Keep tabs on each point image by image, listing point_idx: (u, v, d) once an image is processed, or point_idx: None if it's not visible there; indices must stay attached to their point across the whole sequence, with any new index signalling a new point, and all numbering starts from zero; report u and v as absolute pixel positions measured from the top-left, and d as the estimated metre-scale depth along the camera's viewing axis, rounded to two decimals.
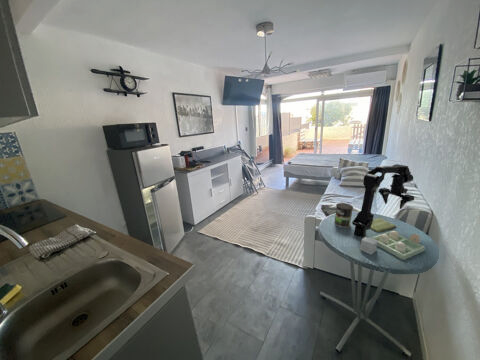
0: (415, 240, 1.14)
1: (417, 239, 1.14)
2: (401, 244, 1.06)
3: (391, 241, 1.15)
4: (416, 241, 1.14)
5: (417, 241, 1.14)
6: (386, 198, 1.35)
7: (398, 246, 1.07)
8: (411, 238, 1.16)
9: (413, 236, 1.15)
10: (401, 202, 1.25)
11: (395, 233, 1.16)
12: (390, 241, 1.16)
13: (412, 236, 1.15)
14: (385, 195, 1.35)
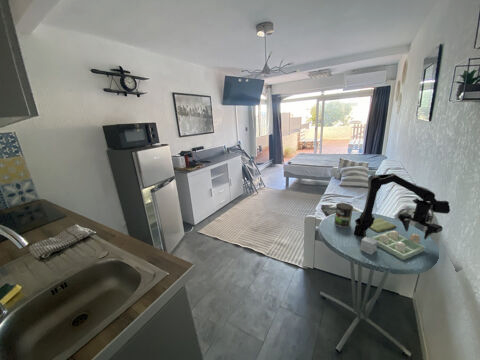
0: (415, 240, 1.14)
1: (417, 239, 1.14)
2: (401, 244, 1.06)
3: (391, 241, 1.15)
4: (416, 241, 1.14)
5: (417, 241, 1.14)
6: (407, 225, 1.18)
7: (398, 246, 1.07)
8: (411, 238, 1.16)
9: (413, 236, 1.15)
10: (427, 232, 1.08)
11: (395, 233, 1.16)
12: (390, 241, 1.16)
13: (412, 236, 1.15)
14: (406, 222, 1.18)
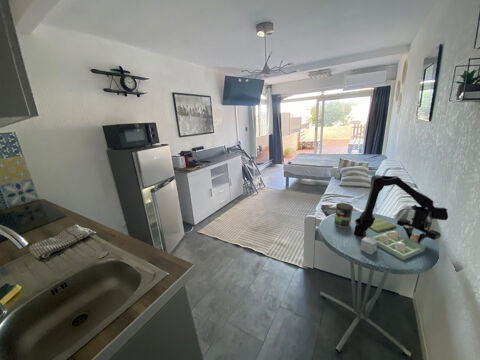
0: (415, 240, 1.14)
1: (417, 239, 1.14)
2: (401, 244, 1.06)
3: (391, 241, 1.15)
4: (416, 241, 1.14)
5: (417, 241, 1.14)
6: (410, 233, 1.18)
7: (398, 246, 1.07)
8: (411, 238, 1.16)
9: (413, 236, 1.15)
10: (420, 237, 1.11)
11: (395, 233, 1.16)
12: (390, 241, 1.16)
13: (412, 236, 1.15)
14: (409, 230, 1.17)
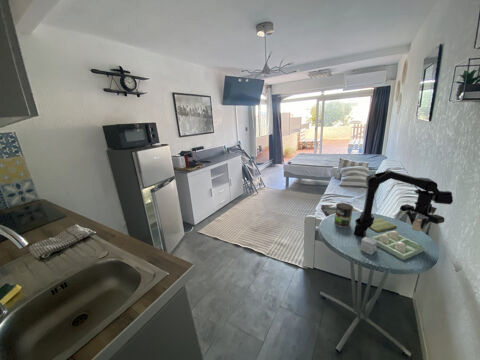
0: (418, 225, 1.11)
1: (420, 224, 1.10)
2: (401, 244, 1.06)
3: (391, 241, 1.15)
4: (419, 226, 1.11)
5: (420, 226, 1.11)
6: (413, 218, 1.14)
7: (398, 246, 1.07)
8: (414, 223, 1.13)
9: (416, 221, 1.12)
10: (423, 222, 1.08)
11: (395, 233, 1.16)
12: (390, 241, 1.16)
13: (415, 221, 1.12)
14: (412, 215, 1.14)
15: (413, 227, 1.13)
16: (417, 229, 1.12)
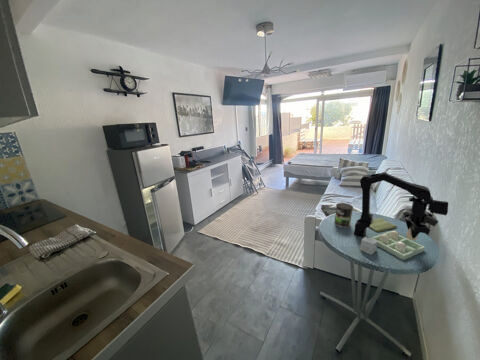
0: (409, 233, 1.08)
1: None
2: (401, 244, 1.06)
3: (391, 241, 1.15)
4: (410, 234, 1.08)
5: (411, 235, 1.08)
6: None
7: (398, 246, 1.07)
8: (407, 231, 1.10)
9: (409, 229, 1.09)
10: (410, 229, 1.06)
11: (395, 233, 1.16)
12: (390, 241, 1.16)
13: (408, 229, 1.10)
14: (409, 223, 1.11)
15: None
16: (408, 237, 1.09)
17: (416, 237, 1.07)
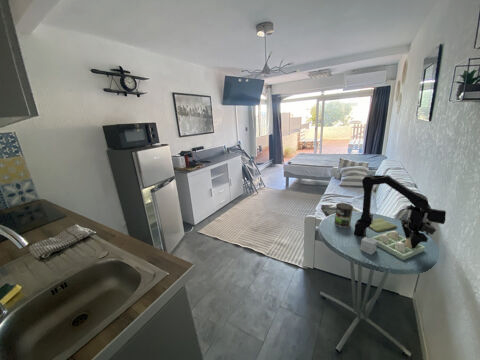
0: (407, 243, 1.10)
1: (409, 243, 1.09)
2: (401, 244, 1.06)
3: (391, 241, 1.15)
4: (407, 245, 1.10)
5: (409, 245, 1.10)
6: (408, 232, 1.14)
7: (398, 246, 1.07)
8: (405, 241, 1.12)
9: (406, 239, 1.11)
10: (410, 239, 1.05)
11: (395, 233, 1.16)
12: (390, 241, 1.16)
13: (406, 239, 1.11)
14: (406, 228, 1.14)
15: None
16: None
17: None
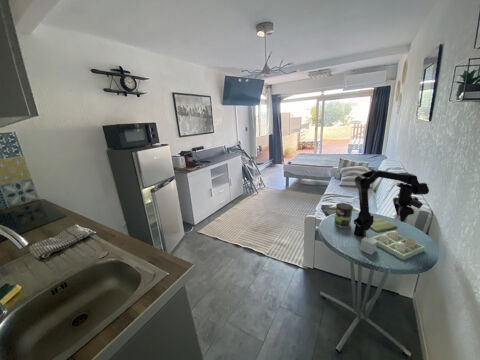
0: (407, 243, 1.10)
1: (409, 243, 1.09)
2: (401, 244, 1.06)
3: (391, 241, 1.15)
4: (407, 245, 1.10)
5: (409, 245, 1.10)
6: (398, 209, 1.24)
7: (398, 246, 1.07)
8: (405, 241, 1.12)
9: (406, 239, 1.11)
10: (399, 213, 1.16)
11: (395, 233, 1.16)
12: (390, 241, 1.16)
13: (406, 239, 1.11)
14: (397, 205, 1.24)
15: None
16: None
17: (414, 247, 1.09)
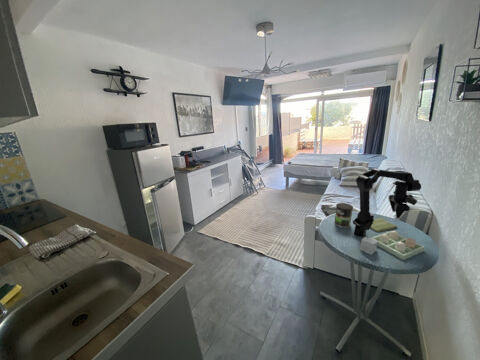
0: (407, 243, 1.10)
1: (409, 243, 1.09)
2: (401, 244, 1.06)
3: (391, 241, 1.15)
4: (407, 245, 1.10)
5: (409, 245, 1.10)
6: (394, 206, 1.29)
7: (398, 246, 1.07)
8: (405, 241, 1.12)
9: (407, 239, 1.11)
10: (395, 210, 1.20)
11: (395, 233, 1.16)
12: (390, 241, 1.16)
13: (406, 239, 1.11)
14: (392, 202, 1.29)
15: None
16: None
17: (414, 247, 1.09)
